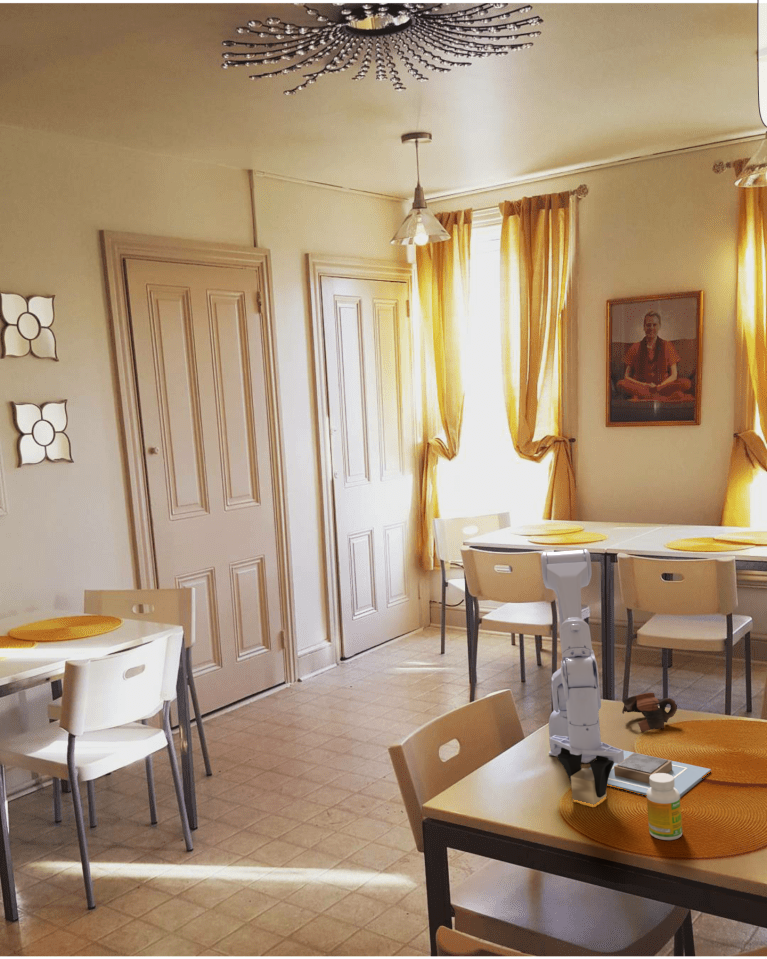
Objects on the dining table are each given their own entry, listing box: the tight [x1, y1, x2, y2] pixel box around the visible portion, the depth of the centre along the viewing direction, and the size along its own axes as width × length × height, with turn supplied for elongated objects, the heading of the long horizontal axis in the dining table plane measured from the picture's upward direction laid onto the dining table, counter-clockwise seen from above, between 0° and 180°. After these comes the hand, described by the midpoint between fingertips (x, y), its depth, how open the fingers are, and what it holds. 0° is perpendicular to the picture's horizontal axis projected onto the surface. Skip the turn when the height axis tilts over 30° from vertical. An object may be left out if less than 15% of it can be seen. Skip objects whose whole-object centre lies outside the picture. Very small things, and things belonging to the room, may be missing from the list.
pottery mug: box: [622, 692, 678, 733], centre depth 197 cm, size 12×10×8 cm
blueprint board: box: [587, 749, 712, 798], centre depth 170 cm, size 20×16×3 cm
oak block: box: [570, 767, 608, 805], centre depth 161 cm, size 4×4×5 cm
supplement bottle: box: [646, 773, 683, 841], centre depth 146 cm, size 5×5×10 cm
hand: (589, 792), depth 161 cm, fingers closed on oak block, 4 cm apart
